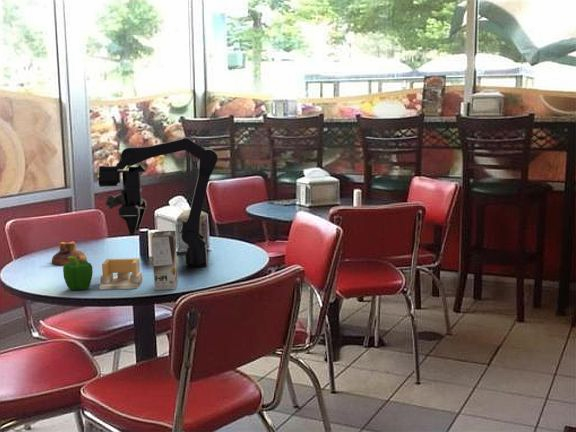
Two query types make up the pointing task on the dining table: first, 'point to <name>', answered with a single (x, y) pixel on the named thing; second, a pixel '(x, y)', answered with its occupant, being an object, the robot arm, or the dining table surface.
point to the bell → (67, 254)
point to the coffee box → (164, 260)
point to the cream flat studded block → (121, 281)
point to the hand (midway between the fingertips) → (134, 232)
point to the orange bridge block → (121, 266)
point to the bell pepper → (77, 274)
